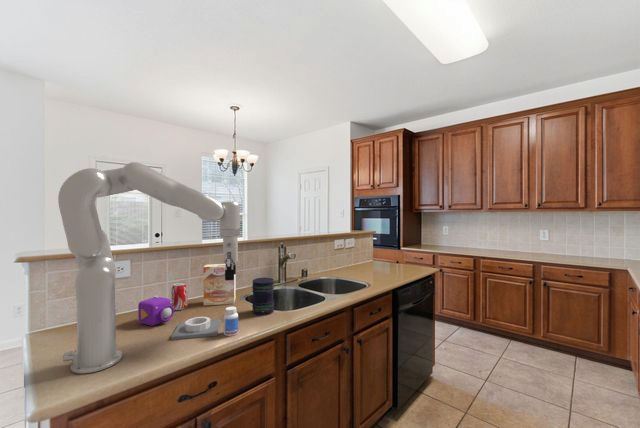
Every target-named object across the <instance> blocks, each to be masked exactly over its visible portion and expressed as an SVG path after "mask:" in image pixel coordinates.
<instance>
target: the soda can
mask: <svg viewBox="0 0 640 428" xmlns="http://www.w3.org/2000/svg"><path fill="white" fill-rule="evenodd" d="M187 285H188V284H187V283H186V282H184V281H183V282H174V283H173V284H172V287H171V291H170V292H171V296H170V297H171V299H170V301H171V306H172V307H173V308H174V311H177V310H178V311H183V310H185V309H186V308H188V305H189V303H188V302H189V301H188V300H189V298H188V296H189V294H188V291H189V290H188V289H189V288H188V286H187Z"/></svg>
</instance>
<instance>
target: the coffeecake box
mask: <svg viewBox="0 0 640 428" xmlns="http://www.w3.org/2000/svg"><path fill="white" fill-rule="evenodd" d="M225 265H226V264H225V263H216V264H215V263H211V264H210V263H209V264H205V265H204V266H203V306H217V305H219V306H221V305H234V304H235V302H236V298H237V297H236V292H237V291H236V287H237V285H236V280H237V279H236V274H234V280H227V281H226V280H225Z"/></svg>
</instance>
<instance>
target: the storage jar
mask: <svg viewBox="0 0 640 428" xmlns="http://www.w3.org/2000/svg"><path fill="white" fill-rule="evenodd" d="M274 282H275V281H274V278H272V277H258V278H254V279H252V305H251V306H252V314H253V315H255V316H259V317H261V316H263V317H264V316H269V315H271V314H273V313H274V311H275V309H274V308H275V301H274V291H275V286H274V285H275V284H274Z"/></svg>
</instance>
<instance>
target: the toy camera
mask: <svg viewBox="0 0 640 428" xmlns="http://www.w3.org/2000/svg"><path fill="white" fill-rule="evenodd" d="M137 309H138V310H137V311H138V313H137V314H138V315H137V316H138V317H137V318H138V323H140V324H142V325H147V326H150V327H151V326H153V327H154V326H157V325H159V324H163V323H164V322H169V320H171V319H172V317H173V316H174V313H175V310H174V308H173V307H172V303H171V299H170V298H166V297H161V296H159V295H154V296H153V297H151V298H148V299H144V300H141V301H140V302H139V303H138V306H137Z"/></svg>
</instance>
